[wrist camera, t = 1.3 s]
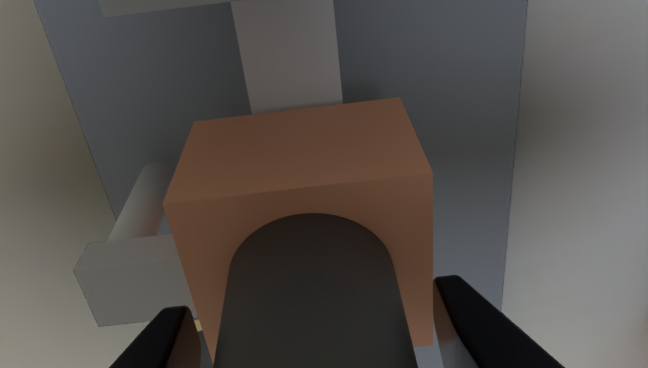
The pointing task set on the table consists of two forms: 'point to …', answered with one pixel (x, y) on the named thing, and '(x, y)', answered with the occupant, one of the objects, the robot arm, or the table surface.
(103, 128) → the hole plate
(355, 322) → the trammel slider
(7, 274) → the table surface
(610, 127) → the table surface
